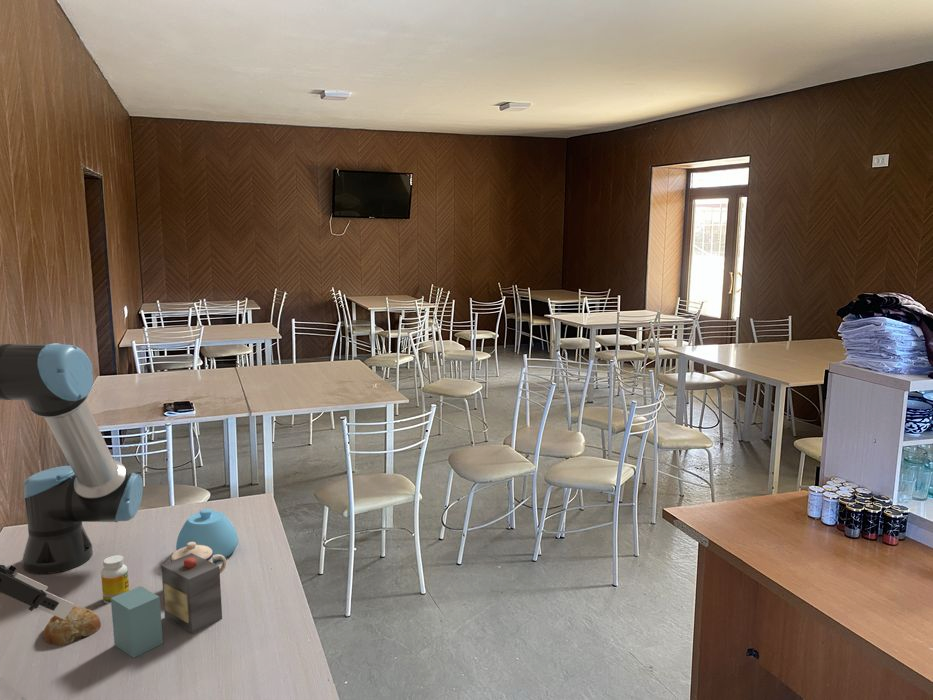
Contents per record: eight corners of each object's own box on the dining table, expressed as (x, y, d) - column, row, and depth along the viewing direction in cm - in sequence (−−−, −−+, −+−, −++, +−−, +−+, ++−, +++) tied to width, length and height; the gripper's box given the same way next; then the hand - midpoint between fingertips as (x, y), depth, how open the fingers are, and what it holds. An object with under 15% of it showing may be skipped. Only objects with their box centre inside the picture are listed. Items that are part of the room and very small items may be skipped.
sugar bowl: (246, 556, 179) (244, 513, 178) (184, 572, 171) (181, 527, 169) (229, 535, 192) (227, 495, 190) (170, 549, 183) (168, 506, 181)
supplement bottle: (103, 596, 160) (99, 556, 158) (129, 590, 162) (126, 551, 160) (103, 607, 155) (99, 566, 153) (130, 601, 157) (127, 561, 156)
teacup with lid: (177, 604, 156) (174, 555, 154) (169, 587, 164) (166, 540, 162) (232, 590, 163) (229, 542, 161) (222, 574, 170) (219, 528, 168)
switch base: (90, 655, 137) (84, 587, 135) (192, 607, 155) (188, 546, 152) (122, 678, 130) (117, 607, 128) (225, 626, 148) (222, 562, 145)
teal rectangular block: (114, 645, 138) (110, 598, 137) (143, 631, 143) (140, 585, 142) (133, 658, 134) (129, 609, 133) (162, 643, 139) (159, 596, 137)
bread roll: (57, 671, 138) (63, 643, 135) (30, 636, 143) (36, 608, 139) (105, 646, 147) (112, 619, 144) (78, 614, 151) (85, 587, 148)
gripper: (-105, 553, 114) (13, 602, 130) (-54, 595, 101) (70, 644, 117) (-70, 512, 118) (41, 565, 133) (-16, 547, 105) (100, 601, 120)
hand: (55, 602), depth 125 cm, fingers open, 9 cm apart
